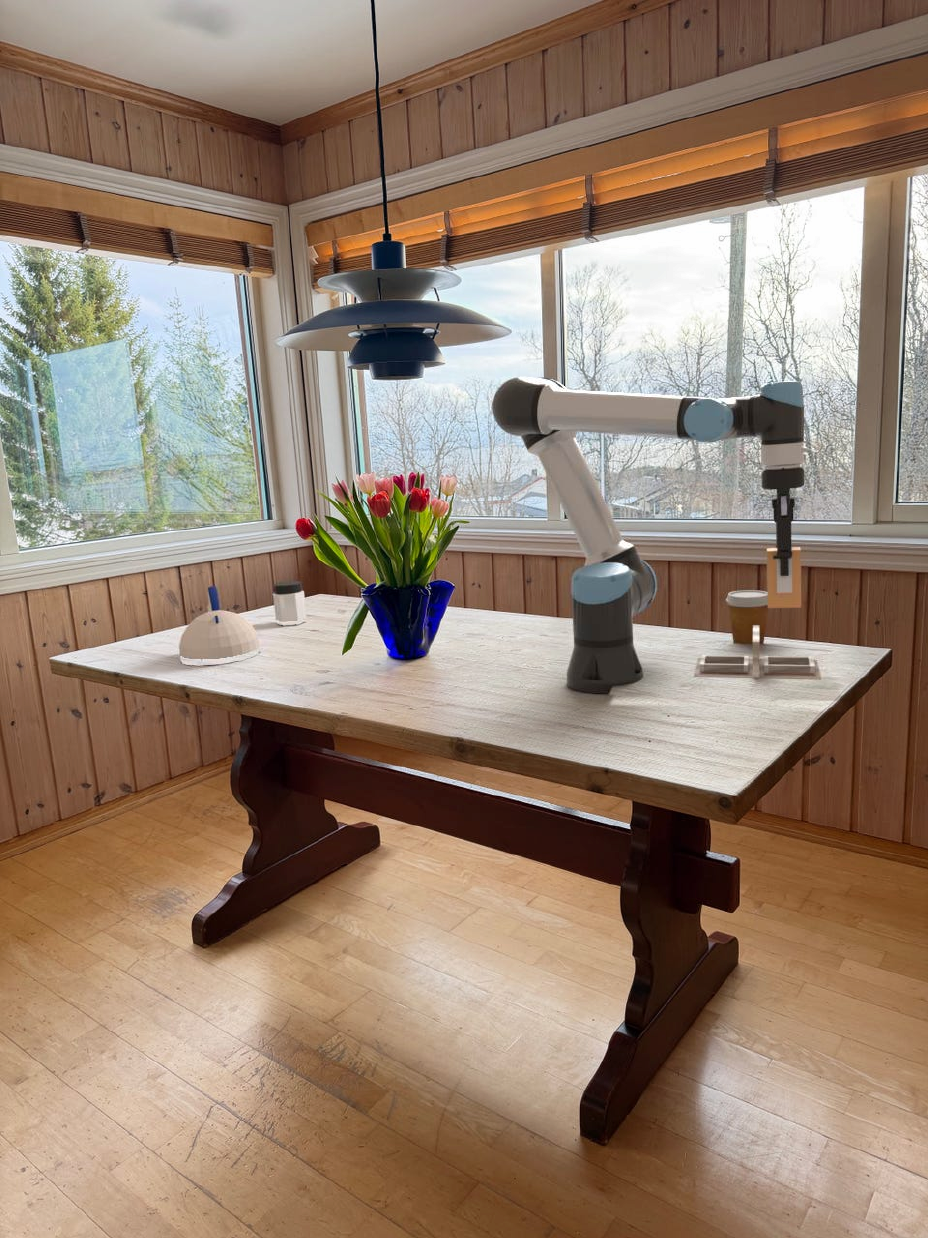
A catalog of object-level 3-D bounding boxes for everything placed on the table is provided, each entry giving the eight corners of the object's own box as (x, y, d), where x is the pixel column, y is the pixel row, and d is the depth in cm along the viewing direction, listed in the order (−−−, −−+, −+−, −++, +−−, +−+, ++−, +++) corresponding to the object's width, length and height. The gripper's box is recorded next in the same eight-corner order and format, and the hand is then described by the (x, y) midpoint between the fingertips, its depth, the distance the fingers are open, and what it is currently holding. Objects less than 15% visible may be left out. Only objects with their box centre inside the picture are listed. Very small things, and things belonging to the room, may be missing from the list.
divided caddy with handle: (821, 686, 162) (821, 642, 160) (693, 683, 169) (693, 641, 167) (816, 666, 174) (817, 625, 173) (698, 664, 182) (697, 625, 180)
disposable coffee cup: (773, 651, 188) (774, 597, 186) (728, 652, 190) (727, 598, 188) (767, 640, 197) (768, 589, 195) (724, 641, 199) (723, 590, 197)
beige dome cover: (257, 642, 234) (249, 576, 230) (265, 659, 214) (256, 587, 211) (179, 653, 228) (169, 585, 224) (179, 671, 208) (169, 597, 205)
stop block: (801, 607, 164) (800, 549, 162) (767, 608, 166) (766, 551, 164) (800, 603, 168) (800, 547, 166) (767, 604, 170) (766, 548, 168)
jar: (272, 623, 257) (268, 583, 255) (297, 619, 262) (293, 579, 259) (285, 627, 250) (280, 586, 247) (311, 622, 254) (306, 582, 252)
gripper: (806, 467, 153) (807, 598, 157) (802, 463, 169) (803, 581, 173) (761, 470, 155) (763, 599, 160) (761, 466, 171) (763, 582, 176)
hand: (784, 589), depth 166 cm, fingers closed on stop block, 4 cm apart
